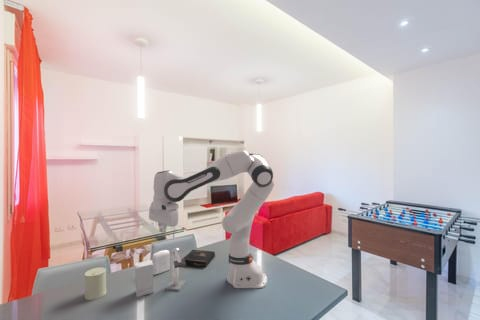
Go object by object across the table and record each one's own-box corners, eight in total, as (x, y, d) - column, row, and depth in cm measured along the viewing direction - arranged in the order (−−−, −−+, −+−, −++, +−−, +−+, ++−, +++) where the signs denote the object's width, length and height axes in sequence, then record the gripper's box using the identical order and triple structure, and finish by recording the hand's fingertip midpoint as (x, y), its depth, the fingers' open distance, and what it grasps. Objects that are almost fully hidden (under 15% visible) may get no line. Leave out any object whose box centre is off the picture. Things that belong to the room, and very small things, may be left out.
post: (185, 282, 122) (185, 250, 122) (179, 291, 114) (179, 257, 114) (172, 281, 124) (172, 249, 124) (164, 289, 116) (164, 255, 116)
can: (83, 302, 106) (83, 277, 106) (86, 292, 114) (85, 268, 114) (105, 296, 110) (105, 272, 110) (107, 287, 118) (106, 264, 118)
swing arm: (170, 251, 120) (170, 247, 120) (179, 250, 122) (179, 246, 122) (174, 269, 100) (174, 264, 100) (186, 267, 102) (186, 262, 102)
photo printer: (167, 267, 140) (167, 247, 140) (170, 269, 137) (170, 249, 137) (151, 273, 133) (151, 252, 133) (154, 276, 130) (154, 254, 130)
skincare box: (152, 287, 118) (152, 259, 118) (153, 293, 113) (153, 263, 113) (135, 291, 114) (135, 262, 114) (135, 298, 109) (135, 267, 109)
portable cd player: (215, 257, 156) (214, 251, 156) (205, 268, 139) (205, 262, 139) (193, 254, 159) (193, 249, 159) (181, 265, 143) (181, 259, 143)
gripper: (145, 201, 114) (145, 228, 114) (169, 207, 101) (168, 238, 101) (157, 200, 118) (156, 226, 119) (180, 205, 106) (180, 234, 106)
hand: (162, 231), depth 110 cm, fingers closed
